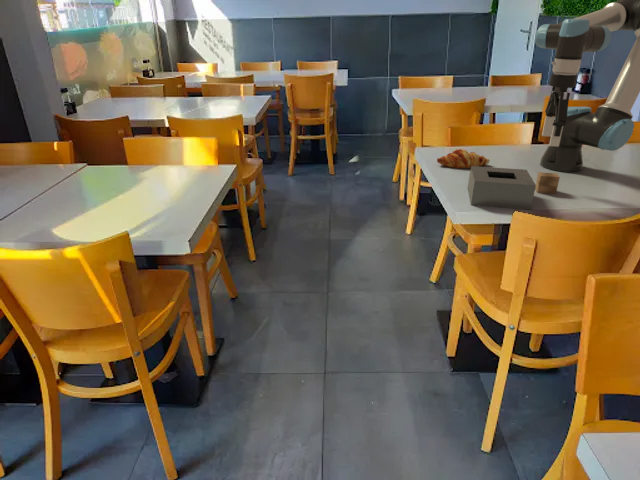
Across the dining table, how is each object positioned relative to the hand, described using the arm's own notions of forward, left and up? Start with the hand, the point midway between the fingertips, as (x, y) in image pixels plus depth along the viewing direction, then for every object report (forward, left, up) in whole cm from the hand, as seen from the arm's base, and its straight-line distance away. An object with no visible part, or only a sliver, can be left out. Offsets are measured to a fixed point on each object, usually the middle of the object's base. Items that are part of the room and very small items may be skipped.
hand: (549, 141), depth 160 cm
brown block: (-2, +1, -17) cm, 17 cm away
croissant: (+24, -23, -18) cm, 38 cm away
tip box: (+15, +12, -17) cm, 26 cm away
